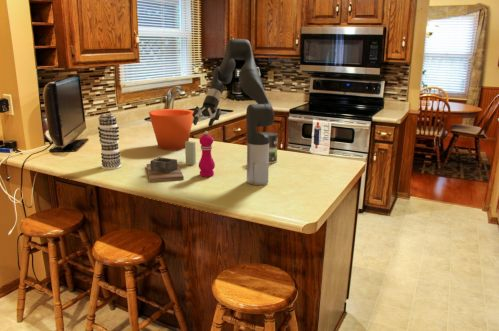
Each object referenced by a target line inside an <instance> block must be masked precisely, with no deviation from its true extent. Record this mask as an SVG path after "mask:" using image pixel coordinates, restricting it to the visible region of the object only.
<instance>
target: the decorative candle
mask: <svg viewBox="0 0 499 331" xmlns="http://www.w3.org/2000/svg"><path fill="white" fill-rule="evenodd" d="M117 118H118V117H116V116H115V115H114V113H102V114H100V115H99V117H98V118H97V119H98V124H99V125H98V126H97V129H98V137H99V140H98V141H99V143H100V147H101V153H100V155H101V157H100V158H101V166H102V167H101V168H102V169H104V170H116V169H120V168H121V166H122V165H121V164H122V162H121V158H120V157H121V155H120V154H121V152H120V148H119V142H120V141H119V140H120V138H119V137H120V134H118V133H120V131H119V126H118V123H117Z"/></svg>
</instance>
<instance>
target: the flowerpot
mask: <svg viewBox="0 0 499 331" xmlns="http://www.w3.org/2000/svg"><path fill="white" fill-rule="evenodd" d="M193 112H194V110H190V109H184V108H165V109H155V110H154V109H153V110H149V112H148V115H149V119H150V123H151V126H152V128H153V133H154V136H155V139H156V143H157V146H158V148H159V149H160V150H163V151H164V150H165V151H180V150H184V149H185V142H186V141H190V135H191V131H192V125H193V120H194V117H193V115H192V114H193Z"/></svg>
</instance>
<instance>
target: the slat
mask: <svg viewBox="0 0 499 331" xmlns="http://www.w3.org/2000/svg"><path fill="white" fill-rule="evenodd" d="M196 151H197V149H196V141H191V140H189V141H186V142H185V151H184V152H185V165H190V166H191V165H192V166H195V165H196V164H197V158H196V157H197V154H196Z"/></svg>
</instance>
